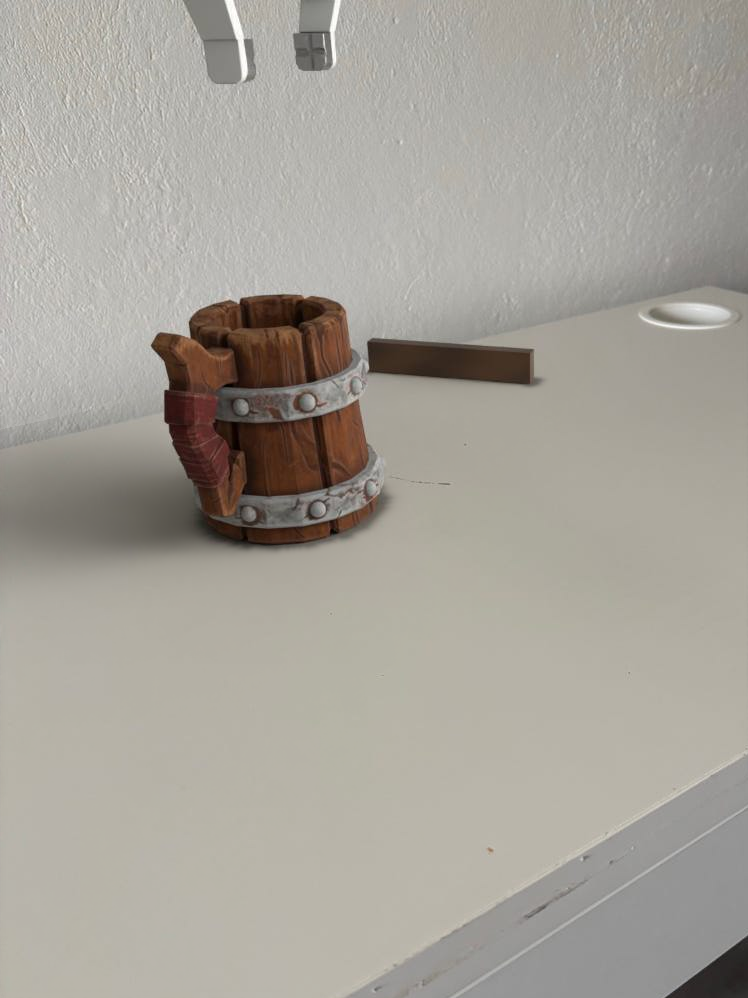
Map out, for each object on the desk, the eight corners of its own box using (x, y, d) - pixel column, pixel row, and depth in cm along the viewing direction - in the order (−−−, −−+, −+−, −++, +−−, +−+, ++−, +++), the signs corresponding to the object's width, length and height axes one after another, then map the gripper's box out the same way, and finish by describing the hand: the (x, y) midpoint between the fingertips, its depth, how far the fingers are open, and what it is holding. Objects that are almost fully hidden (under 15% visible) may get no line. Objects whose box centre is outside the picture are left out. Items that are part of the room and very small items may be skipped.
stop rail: (369, 371, 86) (366, 341, 85) (374, 367, 87) (372, 337, 86) (530, 384, 83) (530, 353, 81) (534, 379, 84) (534, 348, 82)
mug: (428, 474, 66) (394, 242, 57) (319, 610, 57) (255, 359, 47) (274, 451, 71) (218, 230, 61) (149, 574, 61) (58, 336, 51)
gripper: (279, -237, 54) (308, 64, 61) (30, -336, 38) (109, 92, 45) (392, -246, 53) (407, 64, 60) (183, -355, 36) (239, 92, 43)
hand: (278, 76), depth 52 cm, fingers open, 8 cm apart
